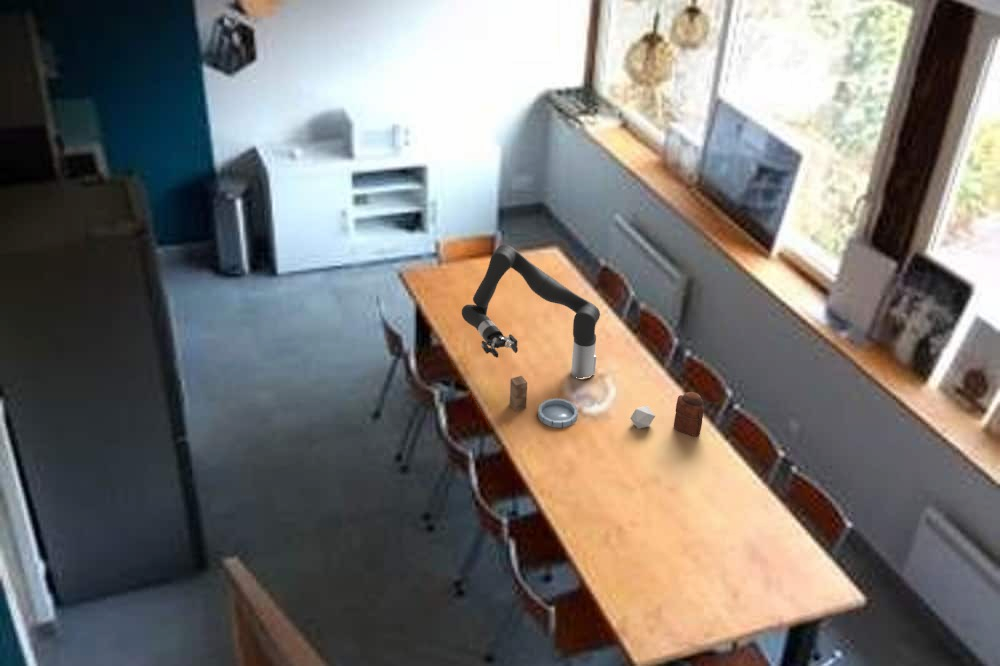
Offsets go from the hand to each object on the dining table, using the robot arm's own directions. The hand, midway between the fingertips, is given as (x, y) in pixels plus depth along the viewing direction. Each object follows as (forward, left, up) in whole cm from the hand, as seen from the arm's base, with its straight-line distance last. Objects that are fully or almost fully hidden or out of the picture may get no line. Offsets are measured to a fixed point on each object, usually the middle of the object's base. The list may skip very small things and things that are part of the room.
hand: (507, 353), depth 422 cm
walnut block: (0, +11, -19) cm, 22 cm away
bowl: (-12, +23, -19) cm, 32 cm away
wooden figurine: (-55, +52, -19) cm, 78 cm away
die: (-40, +42, -19) cm, 61 cm away
